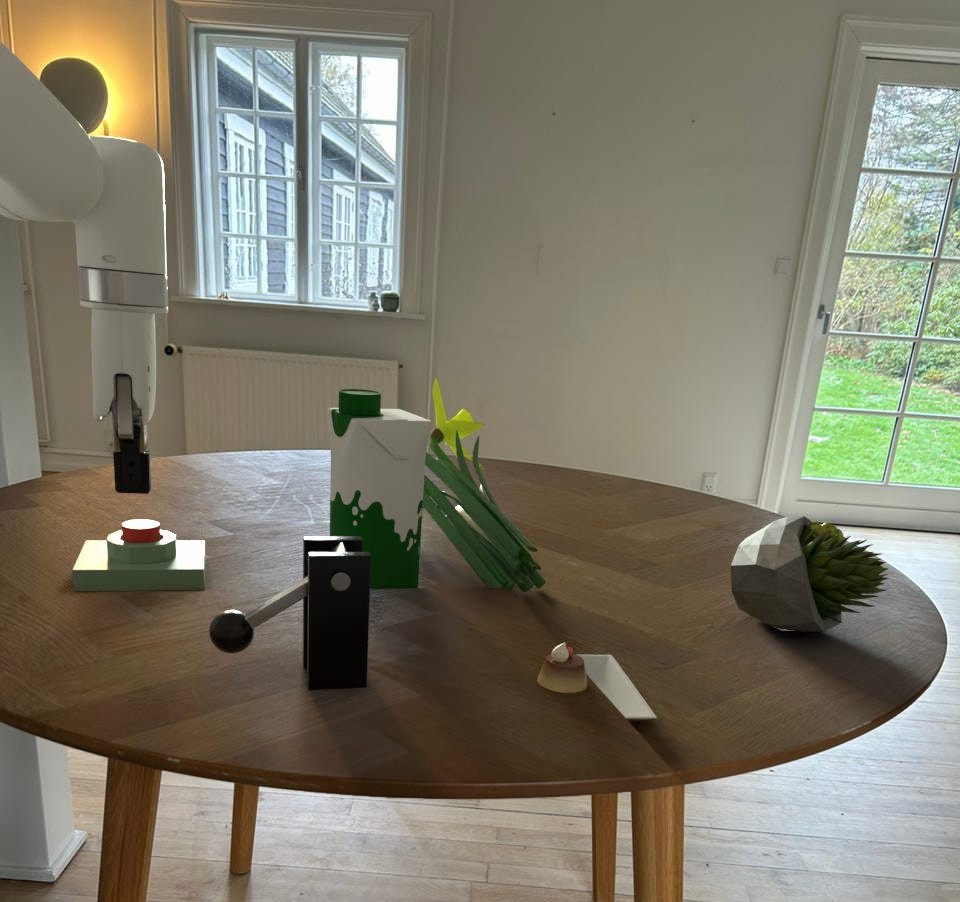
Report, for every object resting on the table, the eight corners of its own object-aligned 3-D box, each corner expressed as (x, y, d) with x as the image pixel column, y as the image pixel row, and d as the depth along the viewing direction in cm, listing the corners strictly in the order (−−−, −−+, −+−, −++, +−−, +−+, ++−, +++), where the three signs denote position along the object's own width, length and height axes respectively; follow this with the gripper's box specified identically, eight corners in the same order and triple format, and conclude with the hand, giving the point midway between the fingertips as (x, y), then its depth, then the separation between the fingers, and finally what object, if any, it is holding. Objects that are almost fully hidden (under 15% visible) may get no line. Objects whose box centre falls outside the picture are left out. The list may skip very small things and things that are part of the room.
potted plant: (767, 565, 100) (911, 561, 91) (741, 659, 95) (891, 665, 86) (735, 494, 92) (889, 481, 83) (705, 592, 87) (866, 591, 78)
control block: (73, 591, 85) (69, 551, 83) (87, 560, 93) (84, 523, 92) (204, 590, 88) (203, 551, 86) (205, 559, 97) (204, 524, 95)
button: (121, 545, 87) (119, 528, 86) (124, 535, 90) (123, 519, 90) (159, 545, 88) (158, 528, 87) (161, 535, 91) (160, 519, 91)
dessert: (610, 666, 78) (617, 615, 76) (655, 731, 67) (665, 674, 65) (476, 664, 76) (481, 613, 74) (501, 731, 65) (507, 672, 63)
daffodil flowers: (425, 611, 90) (323, 453, 114) (514, 656, 100) (403, 503, 124) (533, 483, 86) (404, 347, 109) (615, 544, 96) (480, 408, 119)
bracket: (257, 720, 64) (254, 565, 59) (252, 669, 72) (250, 528, 67) (419, 712, 67) (428, 564, 63) (398, 663, 75) (405, 529, 71)
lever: (226, 668, 65) (199, 634, 63) (225, 650, 67) (200, 618, 66) (366, 583, 65) (343, 548, 63) (360, 569, 68) (338, 535, 66)
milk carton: (318, 578, 94) (320, 385, 86) (396, 571, 98) (404, 386, 91) (349, 606, 87) (353, 398, 79) (431, 597, 91) (443, 399, 84)
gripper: (90, 287, 86) (101, 474, 93) (66, 290, 73) (82, 508, 79) (171, 294, 88) (176, 477, 95) (163, 299, 75) (170, 511, 81)
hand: (133, 491), depth 87 cm, fingers closed
